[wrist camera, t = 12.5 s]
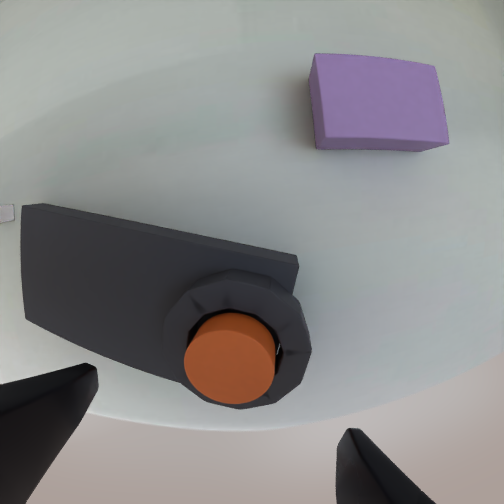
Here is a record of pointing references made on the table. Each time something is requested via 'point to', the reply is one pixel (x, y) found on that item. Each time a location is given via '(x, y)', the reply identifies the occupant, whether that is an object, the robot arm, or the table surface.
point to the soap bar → (376, 104)
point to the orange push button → (231, 359)
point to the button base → (155, 292)
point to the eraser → (6, 213)
